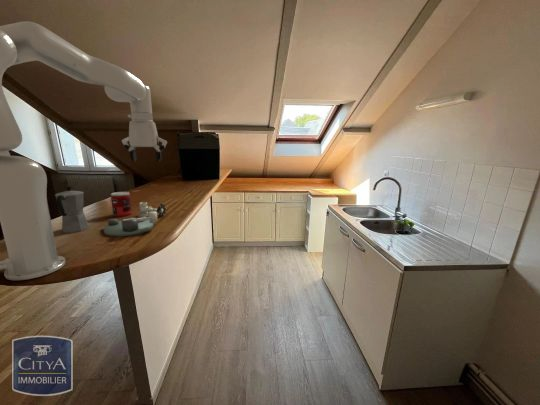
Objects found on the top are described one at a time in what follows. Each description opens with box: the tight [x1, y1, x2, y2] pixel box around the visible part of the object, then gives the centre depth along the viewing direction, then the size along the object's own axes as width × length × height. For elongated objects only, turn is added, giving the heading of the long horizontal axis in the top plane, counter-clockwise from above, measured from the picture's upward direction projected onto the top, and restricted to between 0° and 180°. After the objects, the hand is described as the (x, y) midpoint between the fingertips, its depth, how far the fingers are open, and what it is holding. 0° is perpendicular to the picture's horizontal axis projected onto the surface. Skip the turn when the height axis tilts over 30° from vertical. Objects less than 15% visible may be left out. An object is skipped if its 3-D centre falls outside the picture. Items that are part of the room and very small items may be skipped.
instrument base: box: [103, 215, 154, 237], centre depth 103 cm, size 18×18×4 cm
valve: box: [138, 201, 167, 218], centre depth 121 cm, size 7×7×12 cm
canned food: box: [110, 191, 132, 218], centre depth 121 cm, size 8×8×11 cm
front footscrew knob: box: [120, 211, 158, 232], centre depth 99 cm, size 13×6×6 cm, turn 124°
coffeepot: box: [54, 185, 90, 234], centre depth 98 cm, size 15×9×18 cm, turn 14°
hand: (146, 161), depth 102 cm, fingers open, 9 cm apart
